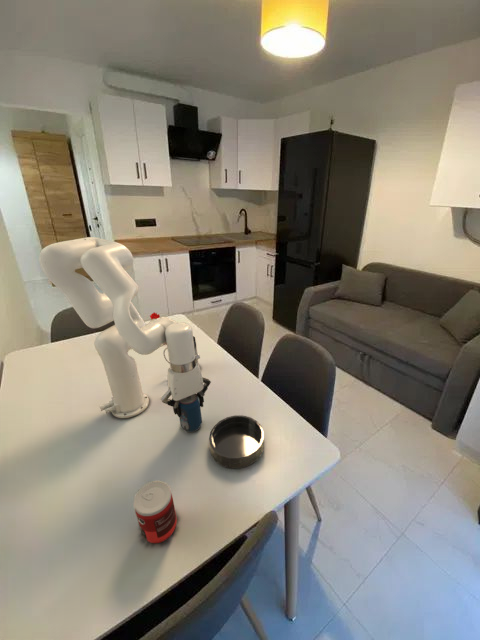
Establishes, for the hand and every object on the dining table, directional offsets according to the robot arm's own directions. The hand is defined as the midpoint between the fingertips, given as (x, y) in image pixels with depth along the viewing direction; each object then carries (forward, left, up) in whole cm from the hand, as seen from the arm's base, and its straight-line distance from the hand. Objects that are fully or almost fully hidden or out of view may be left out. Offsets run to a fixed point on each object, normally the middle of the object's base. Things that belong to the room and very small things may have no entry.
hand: (189, 409), depth 94 cm
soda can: (0, 0, -7) cm, 7 cm away
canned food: (-19, -25, -7) cm, 32 cm away
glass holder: (+10, +31, -7) cm, 33 cm away
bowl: (+8, -16, -7) cm, 19 cm away
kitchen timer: (+11, +66, -7) cm, 67 cm away
